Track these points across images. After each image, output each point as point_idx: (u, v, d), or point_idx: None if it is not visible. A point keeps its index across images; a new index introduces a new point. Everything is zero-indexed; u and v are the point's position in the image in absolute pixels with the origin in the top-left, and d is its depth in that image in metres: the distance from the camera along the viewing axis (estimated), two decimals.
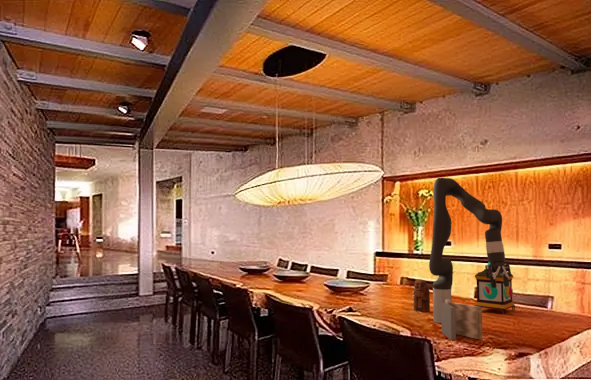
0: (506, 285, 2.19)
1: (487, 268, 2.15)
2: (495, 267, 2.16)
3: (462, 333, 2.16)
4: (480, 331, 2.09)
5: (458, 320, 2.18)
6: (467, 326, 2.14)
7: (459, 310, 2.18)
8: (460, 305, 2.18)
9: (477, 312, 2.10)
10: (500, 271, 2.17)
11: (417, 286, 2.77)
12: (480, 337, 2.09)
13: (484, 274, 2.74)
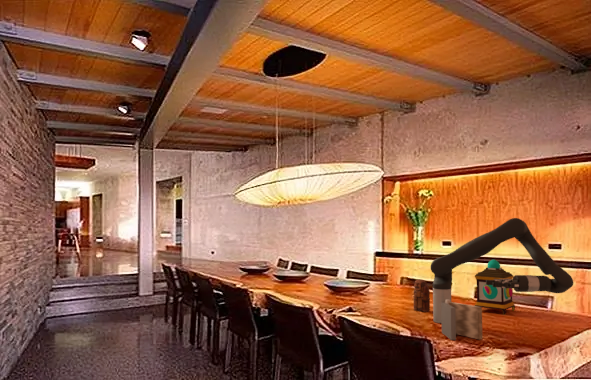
0: (487, 283, 2.19)
1: (515, 285, 2.09)
2: None
3: (462, 333, 2.16)
4: (480, 331, 2.09)
5: (458, 320, 2.18)
6: (467, 326, 2.14)
7: (459, 310, 2.18)
8: (460, 305, 2.18)
9: (477, 312, 2.10)
10: None
11: (417, 286, 2.77)
12: (480, 337, 2.09)
13: (484, 274, 2.74)
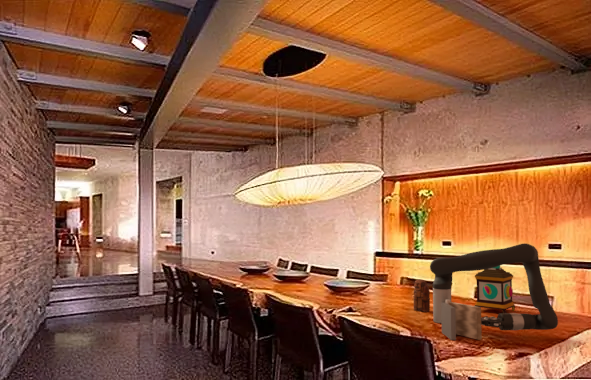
0: None
1: (494, 324, 2.09)
2: None
3: (461, 333, 2.16)
4: (479, 331, 2.09)
5: (457, 321, 2.18)
6: (466, 326, 2.14)
7: (459, 310, 2.18)
8: (460, 305, 2.17)
9: (476, 312, 2.10)
10: None
11: (417, 286, 2.77)
12: (479, 337, 2.09)
13: (484, 274, 2.74)
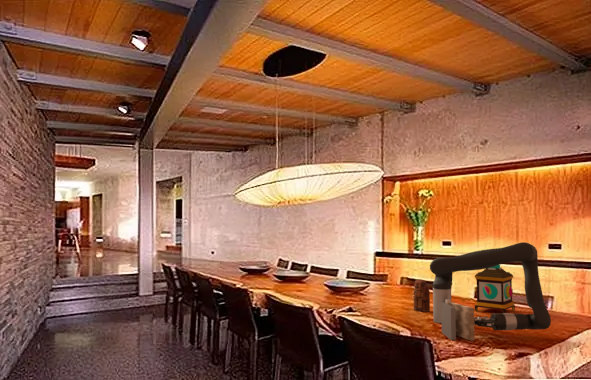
0: None
1: (487, 324, 2.09)
2: None
3: (458, 333, 2.15)
4: (471, 332, 2.07)
5: None
6: (461, 327, 2.13)
7: (455, 310, 2.17)
8: (456, 305, 2.17)
9: (469, 313, 2.08)
10: None
11: (417, 286, 2.77)
12: (471, 338, 2.07)
13: (484, 274, 2.74)
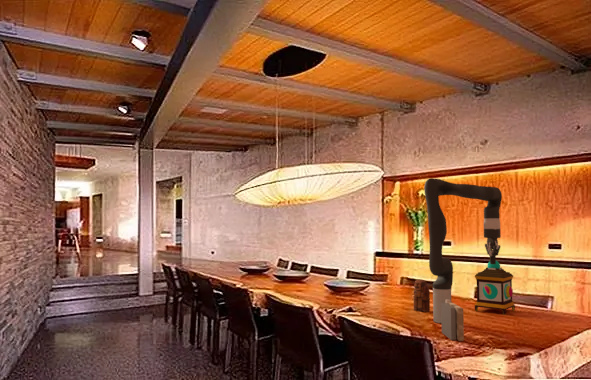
0: None
1: (496, 248, 2.22)
2: None
3: None
4: (460, 332, 2.07)
5: None
6: None
7: None
8: (451, 305, 2.17)
9: (458, 313, 2.08)
10: None
11: (417, 286, 2.77)
12: (460, 339, 2.06)
13: (484, 274, 2.74)
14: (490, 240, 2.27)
